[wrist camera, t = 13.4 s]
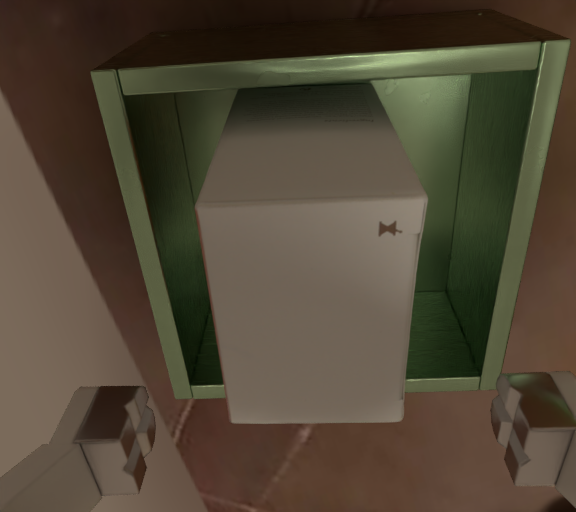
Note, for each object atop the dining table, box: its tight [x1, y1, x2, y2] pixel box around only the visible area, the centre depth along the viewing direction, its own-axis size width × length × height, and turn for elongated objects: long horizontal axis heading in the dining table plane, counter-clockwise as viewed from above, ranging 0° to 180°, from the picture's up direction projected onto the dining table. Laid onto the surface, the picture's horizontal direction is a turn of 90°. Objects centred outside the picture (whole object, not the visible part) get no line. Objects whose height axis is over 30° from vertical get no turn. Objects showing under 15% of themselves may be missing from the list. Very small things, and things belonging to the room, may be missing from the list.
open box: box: [91, 9, 571, 399], centre depth 21 cm, size 14×14×7 cm
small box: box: [195, 84, 428, 424], centre depth 18 cm, size 8×6×10 cm
